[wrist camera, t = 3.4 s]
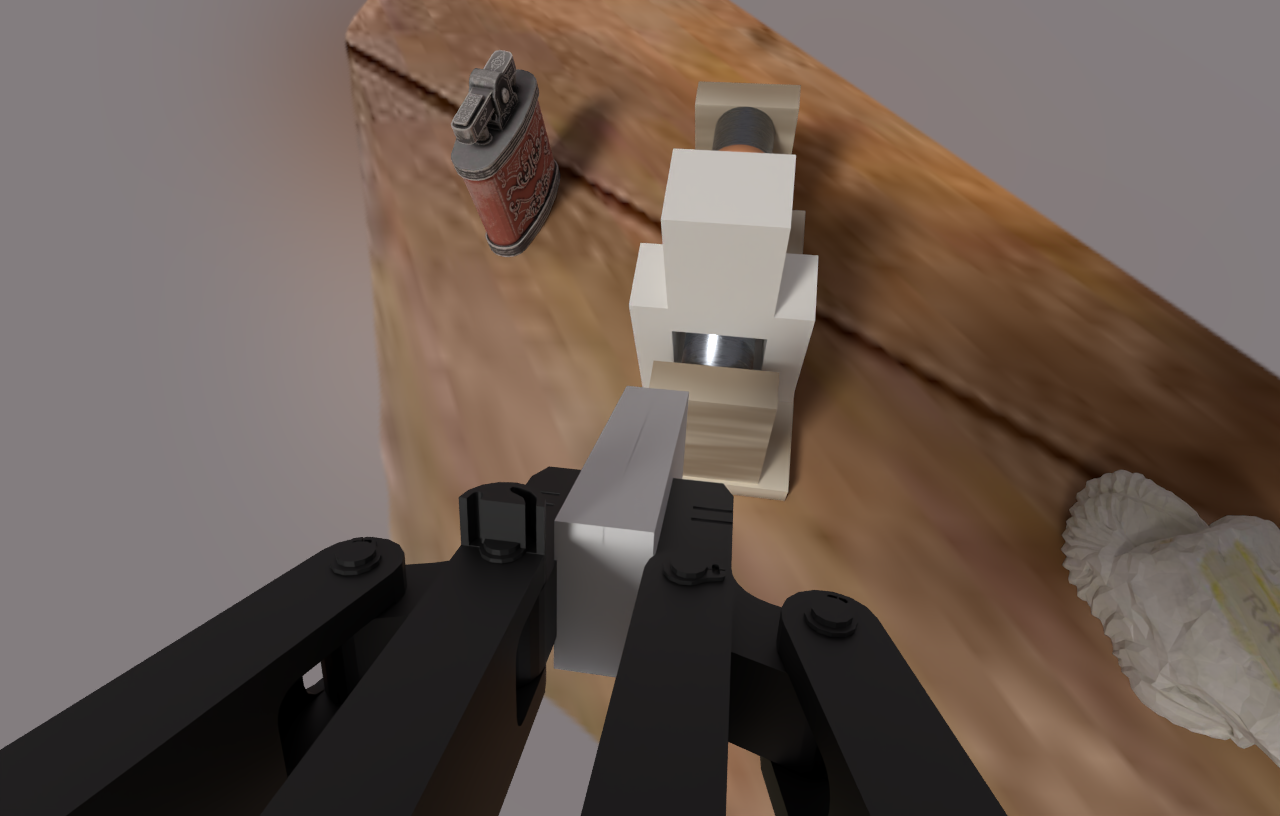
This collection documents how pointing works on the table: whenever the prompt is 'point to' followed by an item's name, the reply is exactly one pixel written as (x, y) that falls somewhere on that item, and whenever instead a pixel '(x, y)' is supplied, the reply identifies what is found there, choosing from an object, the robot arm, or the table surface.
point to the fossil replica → (1183, 605)
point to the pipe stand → (723, 365)
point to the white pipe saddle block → (726, 264)
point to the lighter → (505, 154)
